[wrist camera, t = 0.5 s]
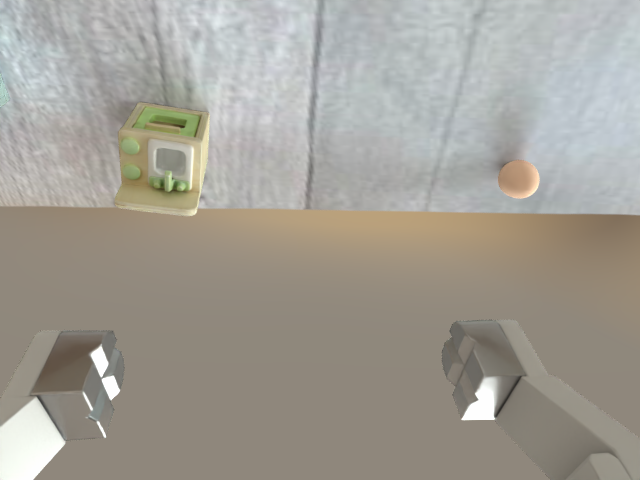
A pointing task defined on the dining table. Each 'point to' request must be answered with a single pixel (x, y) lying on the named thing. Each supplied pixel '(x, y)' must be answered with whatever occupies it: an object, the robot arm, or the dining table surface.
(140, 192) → the toy sink
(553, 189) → the dining table surface
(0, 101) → the green tray
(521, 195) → the egg
